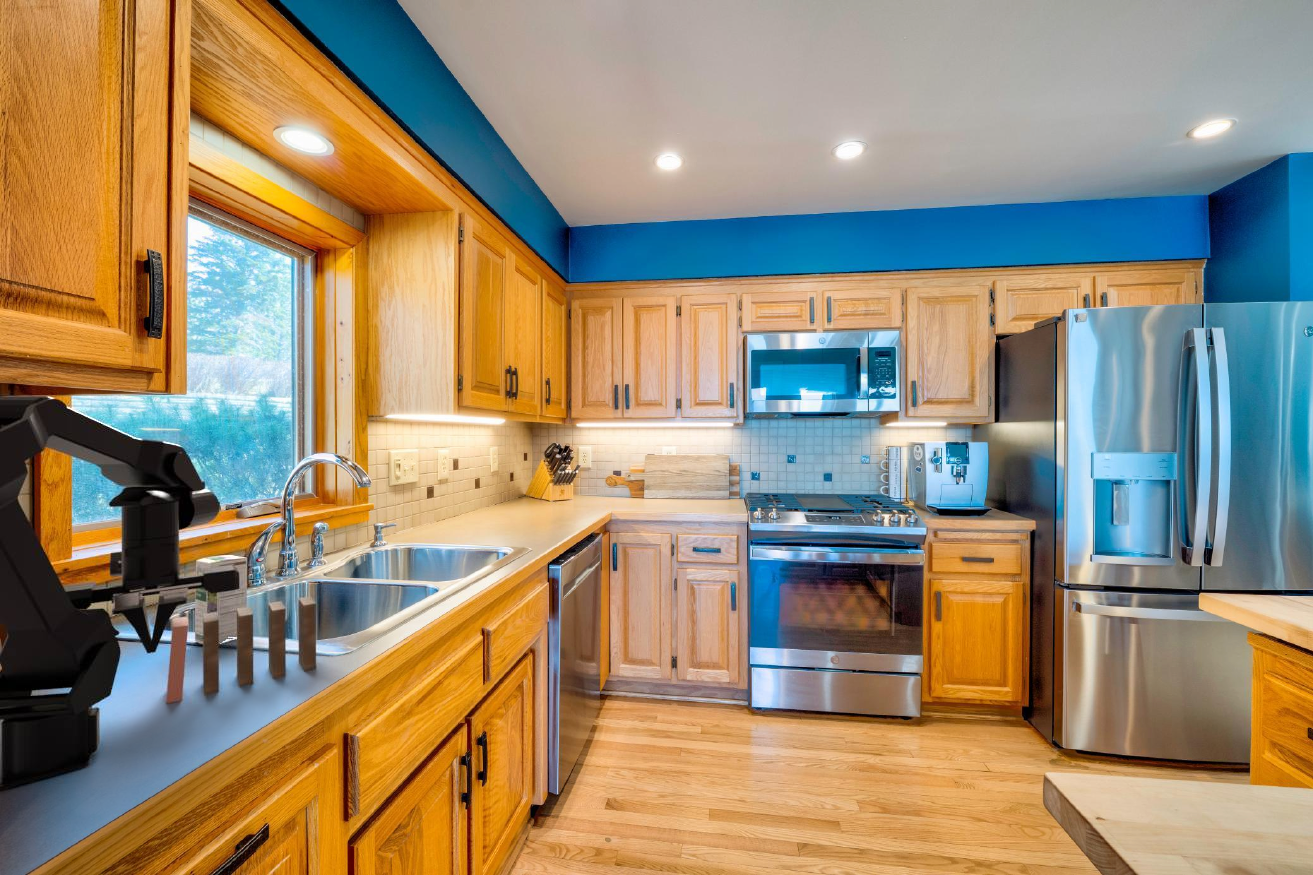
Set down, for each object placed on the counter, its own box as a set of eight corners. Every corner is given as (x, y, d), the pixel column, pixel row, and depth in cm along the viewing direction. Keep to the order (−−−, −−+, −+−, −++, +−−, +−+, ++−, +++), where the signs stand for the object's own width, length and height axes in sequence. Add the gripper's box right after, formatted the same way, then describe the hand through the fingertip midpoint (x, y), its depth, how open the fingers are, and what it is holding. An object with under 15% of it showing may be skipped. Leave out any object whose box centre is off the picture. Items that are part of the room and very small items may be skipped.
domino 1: (166, 703, 73) (172, 627, 73) (167, 690, 77) (173, 618, 77) (181, 700, 74) (188, 625, 74) (182, 687, 78) (187, 616, 78)
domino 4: (272, 678, 81) (272, 610, 81) (268, 668, 84) (268, 603, 84) (285, 675, 82) (285, 608, 82) (281, 665, 85) (281, 601, 85)
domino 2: (204, 695, 75) (203, 622, 76) (203, 683, 79) (203, 614, 79) (218, 691, 77) (218, 620, 77) (217, 679, 80) (217, 611, 80)
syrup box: (193, 642, 95) (193, 559, 95) (232, 632, 101) (232, 553, 101) (209, 648, 93) (209, 562, 93) (248, 637, 98) (248, 556, 98)
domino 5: (303, 671, 83) (303, 605, 83) (298, 661, 87) (298, 598, 87) (316, 668, 84) (315, 603, 84) (310, 658, 88) (310, 596, 88)
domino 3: (239, 686, 78) (239, 616, 78) (236, 675, 82) (236, 608, 82) (253, 683, 79) (253, 614, 79) (250, 672, 83) (250, 606, 83)
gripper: (233, 522, 86) (233, 621, 86) (58, 537, 74) (59, 653, 74) (239, 531, 78) (240, 641, 78) (44, 549, 65) (44, 680, 65)
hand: (151, 652), depth 74 cm, fingers closed
